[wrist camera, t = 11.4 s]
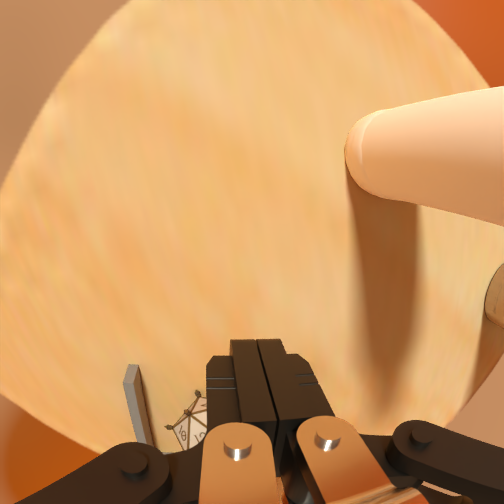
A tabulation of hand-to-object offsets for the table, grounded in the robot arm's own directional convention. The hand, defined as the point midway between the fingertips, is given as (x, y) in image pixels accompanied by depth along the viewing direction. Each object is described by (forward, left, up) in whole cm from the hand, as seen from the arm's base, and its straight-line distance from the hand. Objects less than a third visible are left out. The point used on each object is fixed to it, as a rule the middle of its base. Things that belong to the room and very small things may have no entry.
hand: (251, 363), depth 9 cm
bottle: (-14, -8, -18) cm, 24 cm away
